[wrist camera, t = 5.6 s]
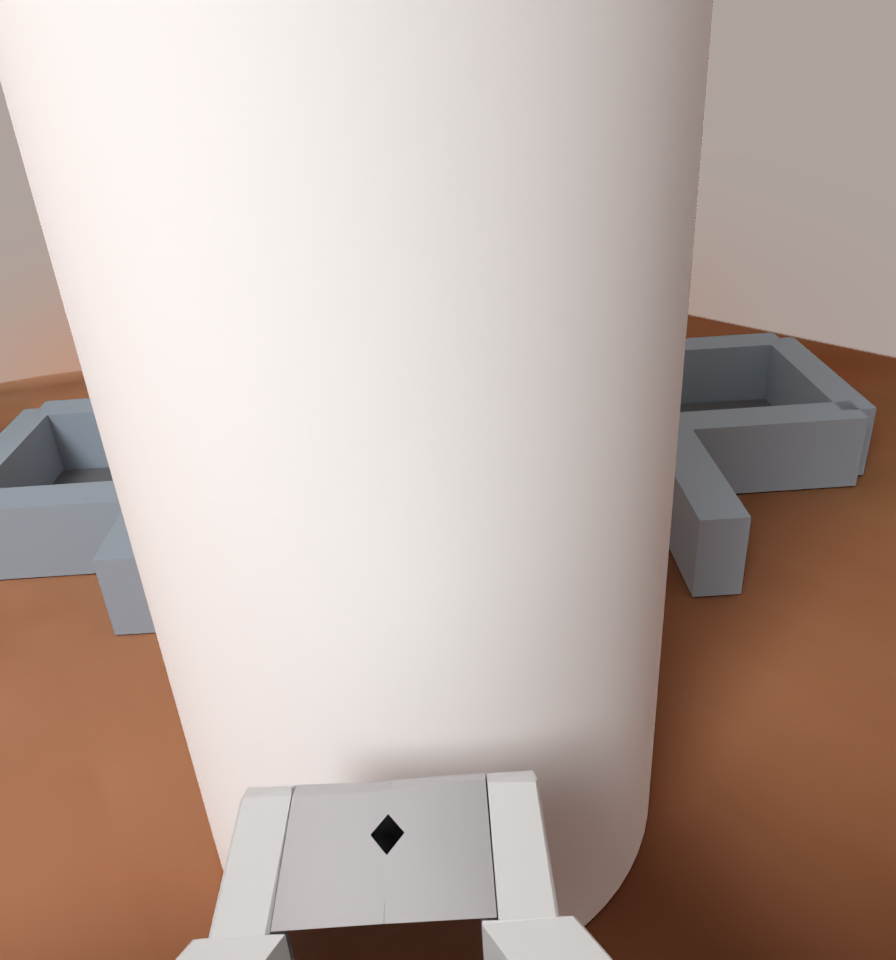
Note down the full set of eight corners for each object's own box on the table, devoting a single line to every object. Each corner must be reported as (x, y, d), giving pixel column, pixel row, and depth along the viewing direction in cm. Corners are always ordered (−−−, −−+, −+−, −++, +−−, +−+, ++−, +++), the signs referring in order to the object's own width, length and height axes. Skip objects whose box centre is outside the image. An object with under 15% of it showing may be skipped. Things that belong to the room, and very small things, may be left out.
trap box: (-109, 649, 21) (-157, 547, 19) (84, 418, 33) (62, 344, 31) (965, 579, 21) (995, 471, 19) (764, 373, 33) (774, 297, 31)
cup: (262, 646, 20) (85, -203, 13) (608, 630, 20) (644, -245, 12) (158, 995, 13) (-409, -499, 5) (699, 978, 13) (925, -614, 5)
